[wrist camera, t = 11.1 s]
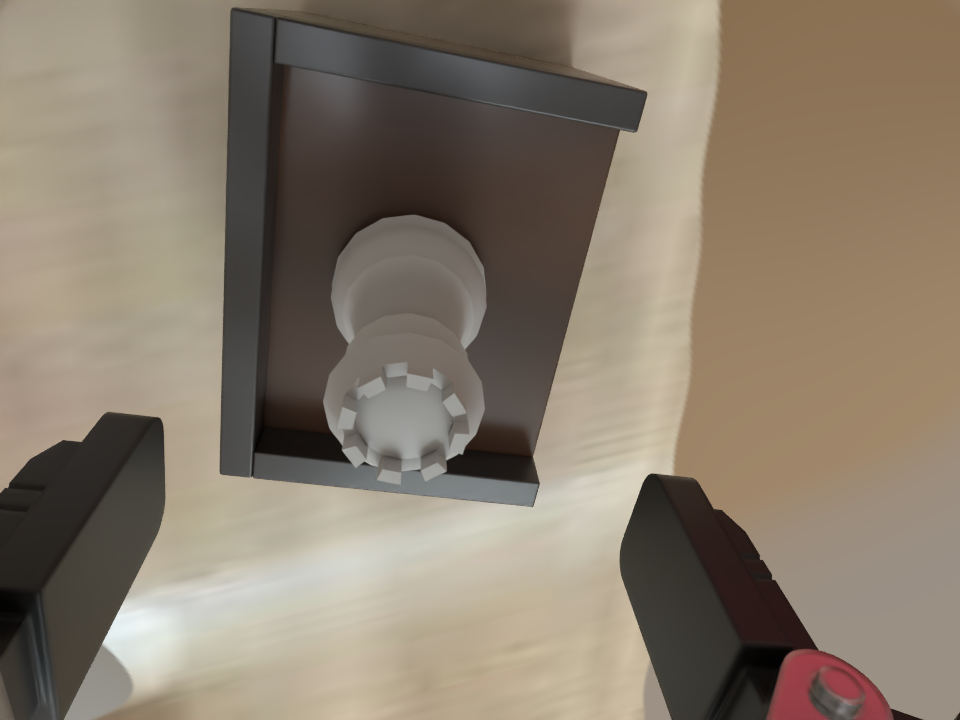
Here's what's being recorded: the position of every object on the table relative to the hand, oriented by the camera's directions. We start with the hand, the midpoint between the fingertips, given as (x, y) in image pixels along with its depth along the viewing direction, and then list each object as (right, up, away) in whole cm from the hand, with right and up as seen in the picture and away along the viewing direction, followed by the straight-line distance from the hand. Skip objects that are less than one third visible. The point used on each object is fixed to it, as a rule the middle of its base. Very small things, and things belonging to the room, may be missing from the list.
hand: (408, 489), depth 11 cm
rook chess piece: (-1, +5, +9) cm, 10 cm away
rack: (-1, +8, +16) cm, 18 cm away
